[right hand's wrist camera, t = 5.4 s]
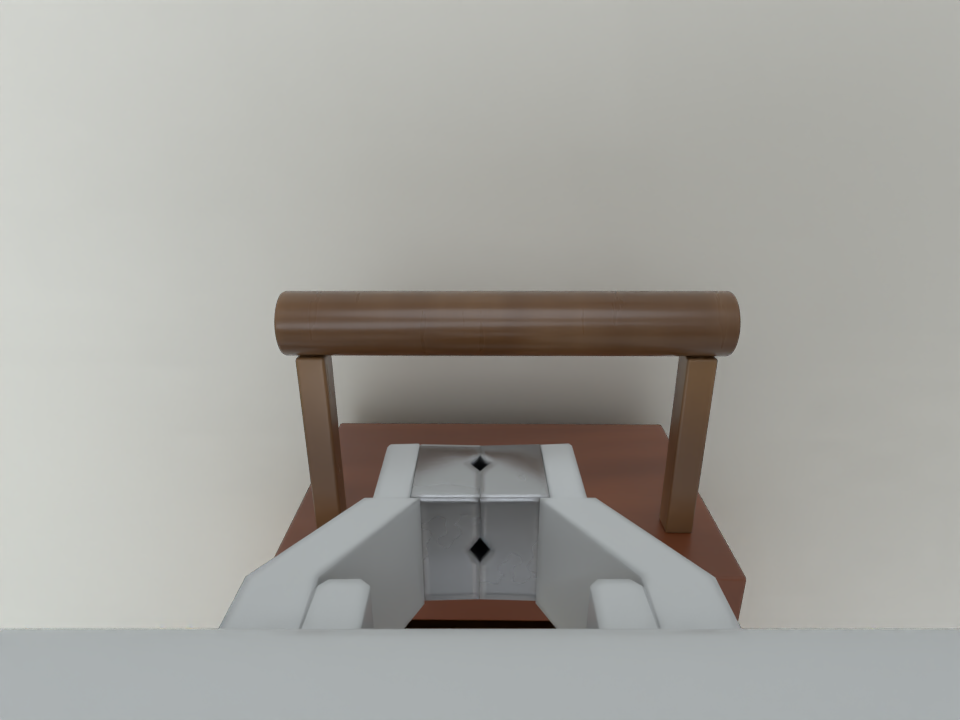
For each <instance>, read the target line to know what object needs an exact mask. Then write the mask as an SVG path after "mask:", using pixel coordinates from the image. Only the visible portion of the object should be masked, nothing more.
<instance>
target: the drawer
mask: <svg viewBox="0 0 960 720" xmlns="http://www.w3.org/2000/svg"><path fill="white" fill-rule="evenodd" d="M274 325H275V335H276V340H277V344H278V346H279V349H280V351H281V352H282V353H283V354H285V355H299V356H298V357H297V358H296V367H297V375H298V383H299V391H300V399H301V407H302V415H303V423H304V431H305V439H306V447H307V455H308V463H309V471H310V479H311V484H310V487H309V489H308V491H307V493H306V495H305V497H304V499H303V501H302V503H301V505H300V507H299V509H298V511H297V513H296V515H295V517H294V519H293V521H292V523H291V525H290V527H289V529H288V531H287V533H286V535H285V537H284V539H283V541H282V543H281V545H280V547H279V549H278V551H277V553H276V555H275V557H276V556H277V555H279V554H280V553H282V552H283V551H285V550H286V549H288V548H289V547H291V546H292V545H294V544H295V543H297V542H298V541H300V540H302V539H303V538H305V537H306V536H308V535H309V534H311V533H312V532H314V531H315V530H317V529H318V528H320V527H321V526H323V525H324V524H326V523H327V522H329V521H330V520H332V519H333V518H335V517H336V516H338V515H339V514H341V513H342V512H344V511H345V510H347V509H348V508H350V507H351V506H353V505H354V504H356V503H357V502H359V501H360V500H362V499H363V498H373V496H374V493H375V489H376V486H377V482H378V479H379V475H380V472H381V468H382V465H383V461H384V458H385V454H386V451H387V447H388V446H389V445H391V444H419V445H421V444H433V445H480V446H488V445H530V444H540V445H546V444H570V445H572V448H573V451H574V455H575V458H576V462H577V465H578V469H579V472H580V475H581V479H582V482H583V486H584V489H585V493H586V496H587V498H597V499H598V500H600V501H601V502H603V503H604V504H606V505H607V506H609V507H610V508H612V509H613V510H615V511H616V512H618V513H619V514H621V515H622V516H624V517H625V518H627V519H628V520H630V521H631V522H633V523H634V524H636V525H637V526H639V527H640V528H642V529H643V530H645V531H646V532H648V533H649V534H651V535H652V536H654V537H655V538H657V539H658V540H660V541H661V542H663V543H664V544H666V545H667V546H669V547H670V548H672V549H673V550H675V551H676V552H678V553H679V554H681V555H682V556H684V557H685V558H687V559H688V560H690V561H691V562H693V563H694V564H696V565H697V566H699V567H700V568H702V569H703V570H705V571H706V572H708V573H709V574H711V575H712V576H714V577H715V578H716V580H717V582H718V584H719V586H720V588H721V590H722V592H723V594H724V596H725V598H726V600H727V601H728V603H729V605H730V607H731V609H732V611H733V613H734V615H735V617H736V619H737V621H738V619H739V614H740V609H741V604H742V598H743V593H744V588H745V583H746V577H745V575H744V573H743V572H742V570H741V568H740V566H739V564H738V563H737V561H736V559H735V557H734V555H733V554H732V552H731V550H730V548H729V546H728V545H727V543H726V541H725V539H724V537H723V536H722V534H721V532H720V530H719V529H718V527H717V525H716V523H715V521H714V520H713V518H712V516H711V514H710V512H709V511H708V509H707V507H706V505H705V503H704V502H703V500H702V498H701V496H700V494H699V493H698V488H699V481H700V474H701V468H702V461H703V454H704V448H705V441H706V434H707V428H708V421H709V414H710V407H711V401H712V394H713V387H714V381H715V374H716V367H717V359H716V358H715V357H714V356H728V355H730V354H732V353H733V351H734V350H735V348H736V345H737V343H738V339H739V334H740V310H739V305H738V302H737V299H736V297H735V296H734V294H733V293H731V292H729V291H285V292H283V293H281V294H280V296H279V298H278V300H277V304H276V309H275V319H274ZM331 355H368V356H679V362H678V370H677V378H676V386H675V394H674V402H673V410H672V418H671V426H670V434H669V439H668V437H667V435H666V433H665V432H664V430H663V428H662V426H661V425H633V424H386V423H342V424H340V426H339V427H338V418H337V408H336V398H335V388H334V378H333V368H332V358H331ZM424 603H425V604H424V605H423V606H422V607H421V609H420V610H419V611H418V612H417V614H416V615H415V616H414V617H413V618H412V620H411V621H410V622H409V623H408V624H407V626H406V627H405V628H404V629H556V628H555V626H554V625H553V624H552V623H551V622H550V620H549V619H548V618H547V617H546V615H545V614H544V613H543V612H542V611H541V609H540V608H539V607H538V606H537V604H536V601H528V600H491V599H467V600H432V601H424Z"/></svg>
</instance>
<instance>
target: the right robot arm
mask: <svg viewBox="0 0 960 720" xmlns="http://www.w3.org/2000/svg"><path fill="white" fill-rule="evenodd" d="M467 599H491V600H528V601H536V604H537V606H538V607H539V608H540V609H541V611H542V612H543V613H544V614H545V615H546V617H547V618H548V619H549V620H550V622H551V623H552V624H553V625H554V626H555V628H556V629H404V628H405V627H406V626H407V624H408V623H409V622H410V621H411V620H412V618H413V617H414V616H415V615H416V614H417V612H418V611H419V610H420V609H421V607H422V606H423V605H424V604H425V603H424V601H432V600H467ZM0 720H960V629H741V627H740V625H739V623H738V621H737V619H736V617H735V615H734V613H733V611H732V609H731V607H730V605H729V603H728V601H727V600H726V598H725V596H724V594H723V592H722V590H721V588H720V586H719V584H718V582H717V580H716V578H715V577H714V576H712V575H711V574H709V573H708V572H706V571H705V570H703V569H702V568H700V567H699V566H697V565H696V564H694V563H693V562H691V561H690V560H688V559H687V558H685V557H684V556H682V555H681V554H679V553H678V552H676V551H675V550H673V549H672V548H670V547H669V546H667V545H666V544H664V543H663V542H661V541H660V540H658V539H657V538H655V537H654V536H652V535H651V534H649V533H648V532H646V531H645V530H643V529H642V528H640V527H639V526H637V525H636V524H634V523H633V522H631V521H630V520H628V519H627V518H625V517H624V516H622V515H621V514H619V513H618V512H616V511H615V510H613V509H612V508H610V507H609V506H607V505H606V504H604V503H603V502H601V501H600V500H598V499H597V498H587V496H586V493H585V489H584V486H583V482H582V479H581V475H580V472H579V469H578V465H577V462H576V458H575V455H574V451H573V448H572V445H570V444H546V445H540V444H530V445H488V446H480V445H433V444H421V445H419V444H391V445H389V446H388V447H387V451H386V454H385V458H384V461H383V465H382V468H381V472H380V475H379V479H378V482H377V486H376V489H375V493H374V496H373V498H363V499H362V500H360V501H359V502H357V503H356V504H354V505H353V506H351V507H350V508H348V509H347V510H345V511H344V512H342V513H341V514H339V515H338V516H336V517H335V518H333V519H332V520H330V521H329V522H327V523H326V524H324V525H323V526H321V527H320V528H318V529H317V530H315V531H314V532H312V533H311V534H309V535H308V536H306V537H305V538H303V539H302V540H300V541H298V542H297V543H295V544H294V545H292V546H291V547H289V548H288V549H286V550H285V551H283V552H282V553H280V554H279V555H277V556H276V557H274V558H273V559H271V560H270V561H268V562H267V563H265V564H264V565H262V566H261V567H259V568H258V569H256V570H255V571H253V572H252V573H250V574H249V575H247V576H246V577H245V579H244V581H243V583H242V585H241V586H240V588H239V590H238V592H237V594H236V596H235V598H234V600H233V602H232V604H231V606H230V608H229V609H228V611H227V613H226V615H225V617H224V619H223V621H222V623H221V625H220V627H219V629H0Z"/></svg>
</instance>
